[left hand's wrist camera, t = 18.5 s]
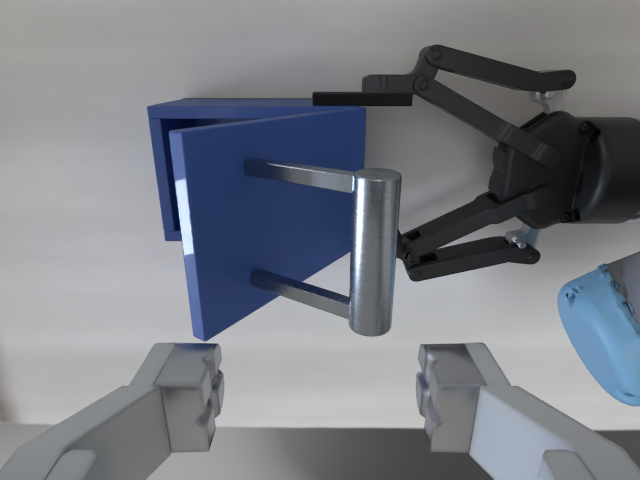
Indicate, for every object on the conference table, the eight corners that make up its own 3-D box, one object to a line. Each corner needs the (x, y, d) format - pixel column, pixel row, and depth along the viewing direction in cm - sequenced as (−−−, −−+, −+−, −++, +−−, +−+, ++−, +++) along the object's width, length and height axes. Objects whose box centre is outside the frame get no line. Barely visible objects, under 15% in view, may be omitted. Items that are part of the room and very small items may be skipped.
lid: (192, 336, 20) (343, 409, 16) (167, 130, 17) (350, 150, 12) (351, 242, 31) (465, 270, 27) (355, 107, 28) (486, 113, 23)
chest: (197, 206, 39) (164, 241, 31) (185, 98, 36) (146, 106, 28) (348, 206, 39) (356, 241, 31) (351, 98, 36) (360, 106, 28)
